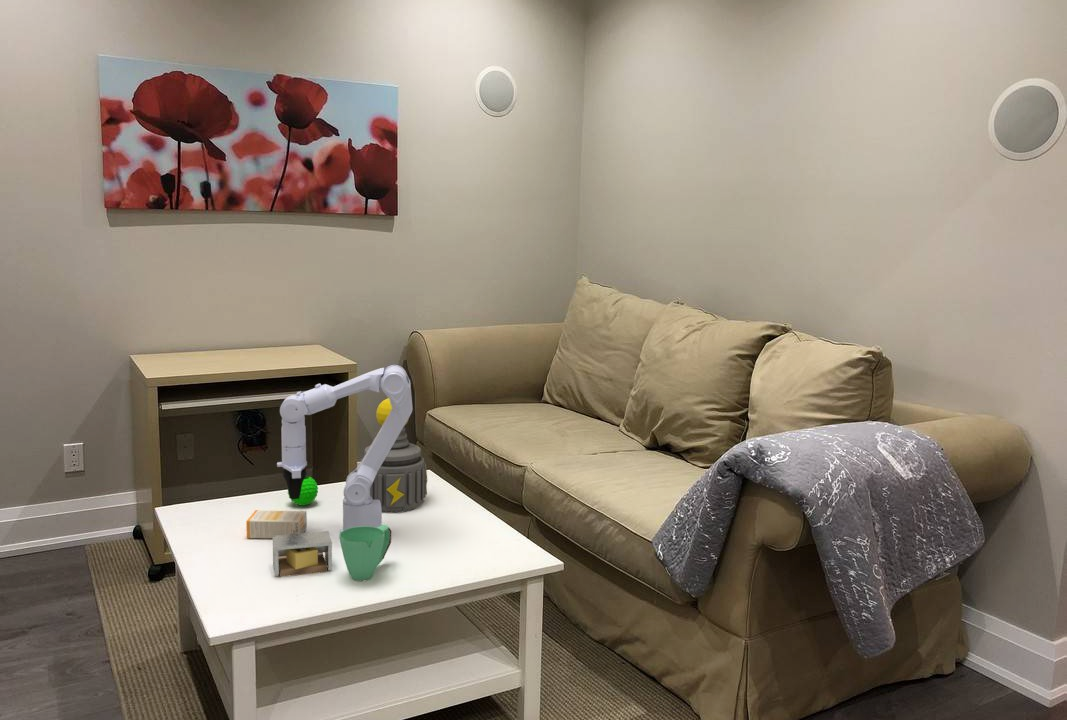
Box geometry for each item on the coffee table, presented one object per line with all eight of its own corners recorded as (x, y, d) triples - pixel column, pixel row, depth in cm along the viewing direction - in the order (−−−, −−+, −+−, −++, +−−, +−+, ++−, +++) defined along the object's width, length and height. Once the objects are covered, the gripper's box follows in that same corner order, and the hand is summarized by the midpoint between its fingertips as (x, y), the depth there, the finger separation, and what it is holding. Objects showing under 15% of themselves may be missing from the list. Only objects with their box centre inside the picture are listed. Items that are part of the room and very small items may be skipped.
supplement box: (246, 539, 218) (299, 540, 218) (245, 520, 217) (299, 521, 217) (255, 527, 226) (307, 528, 226) (255, 509, 225) (307, 510, 225)
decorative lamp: (360, 515, 237) (360, 405, 232) (356, 493, 255) (356, 391, 250) (430, 511, 241) (431, 404, 237) (421, 490, 259) (423, 390, 255)
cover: (328, 558, 206) (328, 531, 205) (332, 570, 200) (331, 541, 199) (273, 563, 202) (272, 535, 201) (274, 575, 196) (274, 547, 195)
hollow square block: (308, 556, 204) (308, 542, 203) (317, 564, 200) (317, 549, 199) (286, 561, 201) (286, 547, 200) (295, 569, 197) (295, 554, 196)
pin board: (319, 546, 214) (318, 524, 214) (326, 571, 200) (326, 548, 199) (276, 550, 211) (275, 528, 210) (280, 576, 196) (280, 553, 195)
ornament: (292, 499, 248) (291, 465, 246) (321, 500, 248) (321, 465, 246) (284, 509, 240) (283, 473, 238) (314, 510, 240) (313, 474, 238)
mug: (366, 589, 191) (366, 545, 190) (330, 579, 196) (330, 536, 194) (405, 566, 204) (406, 524, 202) (371, 557, 208) (371, 517, 207)
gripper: (275, 438, 222) (275, 490, 224) (278, 453, 208) (279, 509, 211) (304, 436, 224) (304, 488, 226) (309, 451, 211) (310, 506, 213)
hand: (294, 498), depth 219 cm, fingers closed
